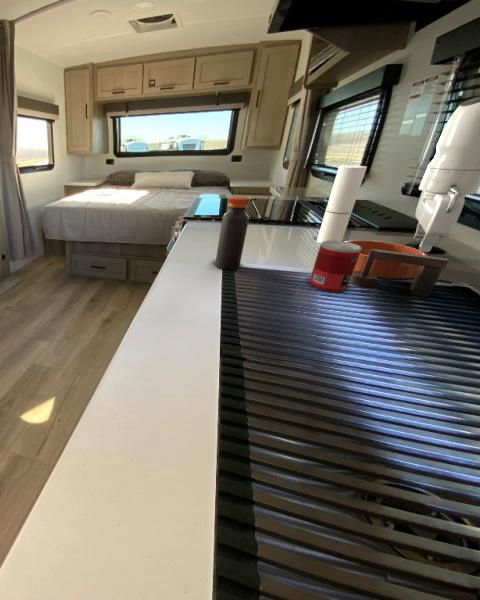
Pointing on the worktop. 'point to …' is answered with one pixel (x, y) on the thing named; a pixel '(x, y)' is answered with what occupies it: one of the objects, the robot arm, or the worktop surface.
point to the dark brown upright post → (424, 281)
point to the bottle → (232, 234)
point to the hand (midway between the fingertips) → (420, 245)
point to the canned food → (334, 265)
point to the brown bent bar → (369, 279)
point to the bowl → (386, 267)
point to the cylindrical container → (341, 203)
